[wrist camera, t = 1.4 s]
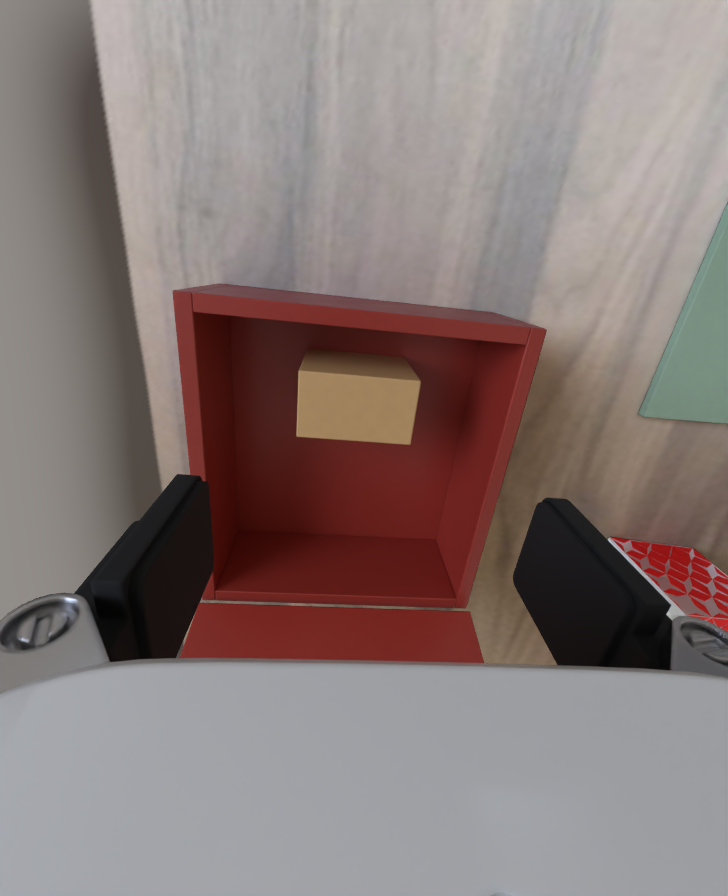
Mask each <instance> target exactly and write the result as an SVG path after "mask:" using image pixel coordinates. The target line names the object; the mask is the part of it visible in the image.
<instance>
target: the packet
mask: <svg viewBox="0 0 728 896" xmlns="http://www.w3.org/2000/svg"><path fill="white" fill-rule="evenodd" d="M420 386H421V381H420V379H419V378H418V376H417V375H416V373H415V372H414V370H413V369H412V368H411V366H410V365H409V363H408V362H407V360H406V359H405V358H404V357H396V356H385V355H374V354H364V353H353V352H342V351H332V350H321V349H310V348H308V349H307V351H306V354H305V356H304V359H303V361H302V364H301V367H300V369H299V372H298V401H297V432H296V435H297V437H307V438H321V439H334V440H348V441H362V442H376V443H390V444H404V445H410V444H411V440H412V434H413V428H414V422H415V416H416V410H417V404H418V398H419V392H420Z"/></svg>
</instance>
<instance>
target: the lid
mask: <svg viewBox="0 0 728 896" xmlns="http://www.w3.org/2000/svg"><path fill="white" fill-rule="evenodd" d="M180 658H266V659H321V660H373V661H416V662H457V663H484V661H483V657H482V654H481V650H480V646H479V643H478V639H477V636H476V632H475V629H474V625H473V621H472V618H471V614H470V612H467V611H436V610H405V609H374V608H344V607H313V606H282V605H251V604H220V603H199V605H198V607H197V610H196V613H195V616H194V618H193V621H192V624H191V627H190V630H189V633H188V636H187V639H186V642H185V645H184V647H183V650H182V653H181V656H180Z"/></svg>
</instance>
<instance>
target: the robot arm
mask: <svg viewBox="0 0 728 896" xmlns="http://www.w3.org/2000/svg"><path fill="white" fill-rule="evenodd" d="M213 567H214V550H213V536H212V521H211V507H210V493H209V484H208V482H207V481H202V478H201V476H197V475H182V474H177V475H176V476H175V477H174V479H173V480H172V481H171V482H170V484H169V485H168V486H167V487H166V489H165V490H164V491H163V492H162V493H161V495H160V496H159V497H158V499H157V500H156V501H155V502H154V503H153V505H152V506H151V507H150V508H149V510H148V511H147V512H146V513H145V515H144V516H143V517H142V518H141V519H140V521H135V522H134V523H133V524H132V525H131V526H130V527H129V528H128V529H127V530H126V532H125V533H124V534H123V535H122V536H121V538H120V539H119V540H118V541H117V542H116V544H115V545H114V546H113V547H112V548H111V550H110V551H109V552H108V553H107V554H106V556H105V557H104V558H103V559H102V561H101V562H100V563H99V564H98V565H97V566H96V568H95V569H94V570H93V571H92V573H91V574H90V575H89V576H88V577H87V579H86V580H85V581H84V582H83V584H82V585H81V586H80V587H79V588H78V590H77V591H76V592H75V593H74V594H72V593H57V594H50V595H46V596H43V597H39V598H36V599H34V600H32V601H29V602H27V603H25V604H22V605H20V606H19V607H17V608H16V609H14V610H12V611H11V612H9V613H8V614H7V615H6V616H5V617H3V618H2V619H1V620H0V896H728V632H727V631H725V630H724V629H722V628H720V627H718V626H716V625H714V624H712V623H710V622H708V621H705V620H702V619H700V618H696V617H691V616H679V617H677V618H675V619H673V621H672V620H671V619H670V618H669V617H668V616H667V615H666V614H667V612H668V610H669V609H670V607H671V604H670V603H669V602H668V601H667V600H666V599H665V598H664V597H663V596H662V595H661V594H660V593H659V592H658V591H657V590H656V589H655V588H654V587H653V586H652V585H651V584H650V583H649V582H648V581H647V580H646V579H645V578H644V577H643V576H642V575H641V574H640V573H639V572H638V571H637V570H636V568H635V567H634V566H633V565H632V564H631V563H630V562H629V561H628V560H627V559H626V558H625V557H624V556H623V555H622V554H621V553H620V552H619V551H618V550H617V549H616V548H615V547H614V546H613V545H612V544H611V543H610V542H609V541H608V540H607V539H606V538H605V537H604V536H603V535H602V534H601V533H600V532H599V531H598V530H597V529H596V528H595V527H594V526H593V525H592V524H591V523H590V522H589V521H588V520H587V519H586V518H585V517H584V515H583V514H582V513H581V512H580V511H579V510H578V509H577V508H576V507H575V506H574V505H573V504H572V503H571V502H570V501H568V500H567V499H557V498H545V499H544V500H543V501H542V502H540V503H538V504H537V506H536V508H535V511H534V514H533V517H532V520H531V523H530V526H529V529H528V532H527V535H526V538H525V541H524V544H523V547H522V550H521V553H520V556H519V559H518V562H517V565H516V568H515V571H514V574H513V581H514V585H515V587H516V589H517V591H518V593H519V595H520V597H521V598H522V600H523V602H524V604H525V606H526V608H527V609H528V611H529V613H530V615H531V617H532V619H533V621H534V622H535V624H536V626H537V628H538V630H539V632H540V633H541V635H542V637H543V639H544V641H545V643H546V644H547V646H548V648H549V650H550V652H551V654H552V655H553V657H554V659H555V661H556V663H557V665H529V664H496V663H457V662H416V661H373V660H321V659H266V658H176V656H177V653H178V651H179V649H180V646H181V644H182V642H183V639H184V637H185V635H186V632H187V630H188V628H189V625H190V623H191V621H192V619H193V616H194V614H195V612H196V609H197V607H198V605H199V602H200V600H201V598H202V595H203V593H204V591H205V588H206V586H207V584H208V581H209V579H210V577H211V574H212V571H213Z"/></svg>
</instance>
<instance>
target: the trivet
mask: <svg viewBox="0 0 728 896" xmlns="http://www.w3.org/2000/svg"><path fill="white" fill-rule="evenodd" d="M638 414H639V415H641V416H643V417H650V418H662V419H674V420H686V421H698V422H710V423H722V424H728V203H727V205H726V208H725V210H724V212H723V215H722V217H721V219H720V222H719V224H718V227H717V229H716V231H715V234H714V236H713V238H712V241H711V243H710V245H709V248H708V250H707V253H706V255H705V257H704V260H703V262H702V264H701V267H700V269H699V271H698V274H697V276H696V279H695V281H694V283H693V286H692V288H691V290H690V293H689V295H688V297H687V300H686V302H685V304H684V307H683V309H682V312H681V314H680V316H679V319H678V321H677V323H676V326H675V328H674V330H673V333H672V335H671V338H670V340H669V342H668V345H667V347H666V349H665V352H664V354H663V356H662V359H661V361H660V364H659V366H658V368H657V371H656V373H655V375H654V378H653V380H652V382H651V385H650V387H649V389H648V392H647V394H646V397H645V399H644V401H643V404H642V406H641V408H640V411H639V413H638Z"/></svg>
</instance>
